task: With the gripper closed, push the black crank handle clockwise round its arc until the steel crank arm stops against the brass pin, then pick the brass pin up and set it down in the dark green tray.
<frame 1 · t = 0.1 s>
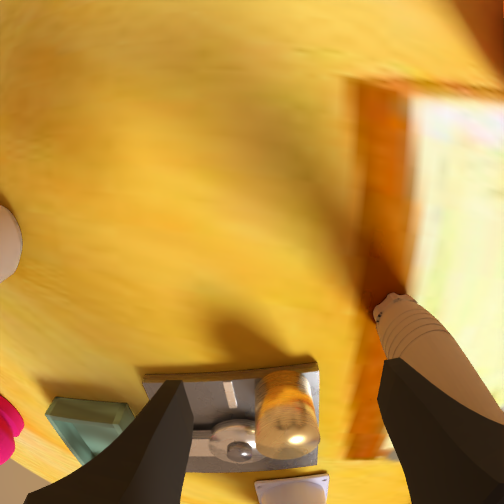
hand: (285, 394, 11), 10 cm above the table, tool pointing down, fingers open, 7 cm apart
tray: (109, 435, 26), on the table
crank: (203, 457, 22), point 3 cm above the table, hinge at 90.0°
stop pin: (282, 390, 22), point 1 cm above the table, touching crank base
energy drink can: (2, 235, 19), on the table
pepper mill: (5, 409, 26), on the table
handle: (390, 309, 21), on the table
crank base: (240, 426, 25), on the table
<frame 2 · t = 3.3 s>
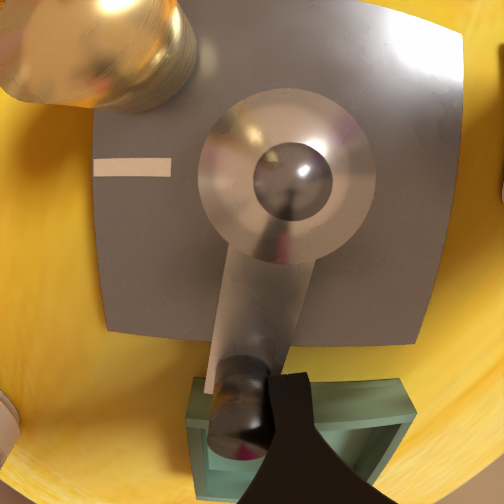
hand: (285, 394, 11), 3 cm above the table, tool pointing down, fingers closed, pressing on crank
tray: (290, 434, 16), on the table
crank: (270, 287, 9), point 3 cm above the table, hinge at 82.6°, touching gripper
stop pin: (137, 56, 9), point 1 cm above the table, touching crank base
crank base: (281, 169, 11), on the table
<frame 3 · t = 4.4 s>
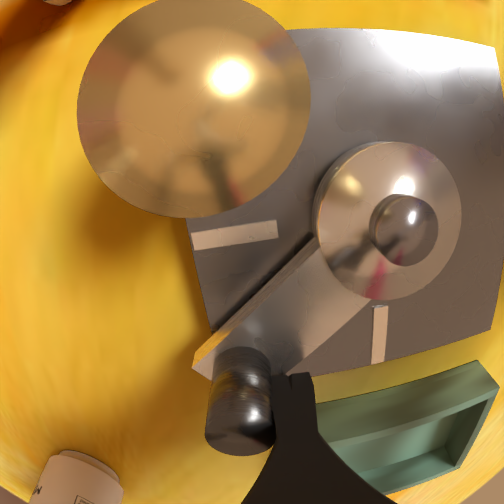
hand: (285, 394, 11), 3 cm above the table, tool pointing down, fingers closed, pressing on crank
tray: (392, 431, 16), on the table
crank: (340, 305, 9), point 3 cm above the table, hinge at 38.7°, touching gripper
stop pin: (215, 118, 9), point 1 cm above the table, touching crank base
energy drink can: (89, 467, 18), on the table
crank base: (370, 208, 11), on the table
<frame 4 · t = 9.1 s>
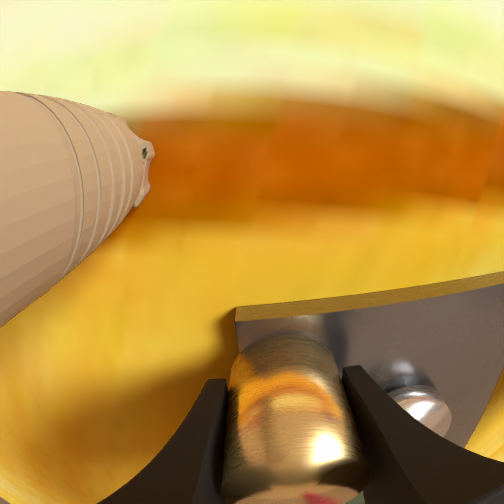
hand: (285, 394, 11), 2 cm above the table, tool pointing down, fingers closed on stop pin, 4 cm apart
crank: (344, 471, 10), point 3 cm above the table, hinge at -1.2°
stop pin: (283, 378, 11), point 1 cm above the table, touching crank base, gripper
handle: (115, 164, 10), on the table
crank base: (386, 405, 13), on the table
when the fingers open (3 cm above the table, at t = 12.5 s): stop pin drops 1 cm, resting on tray.
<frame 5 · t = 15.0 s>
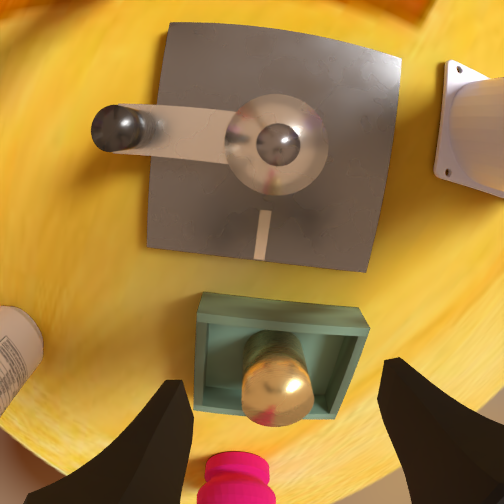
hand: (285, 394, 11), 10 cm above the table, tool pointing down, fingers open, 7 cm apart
tray: (273, 352, 22), on the table
crank: (215, 135, 14), point 3 cm above the table, hinge at -1.2°
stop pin: (272, 353, 21), point 1 cm above the table, touching tray
energy drink can: (22, 330, 22), on the table
pepper mill: (237, 465, 27), on the table
crank base: (273, 143, 17), on the table
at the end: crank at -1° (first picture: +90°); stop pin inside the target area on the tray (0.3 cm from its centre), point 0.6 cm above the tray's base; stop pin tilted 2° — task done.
